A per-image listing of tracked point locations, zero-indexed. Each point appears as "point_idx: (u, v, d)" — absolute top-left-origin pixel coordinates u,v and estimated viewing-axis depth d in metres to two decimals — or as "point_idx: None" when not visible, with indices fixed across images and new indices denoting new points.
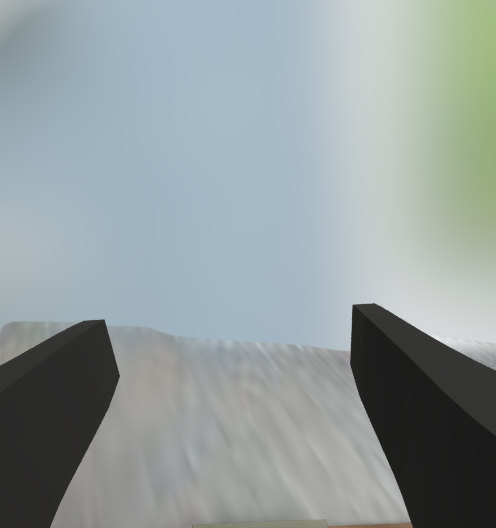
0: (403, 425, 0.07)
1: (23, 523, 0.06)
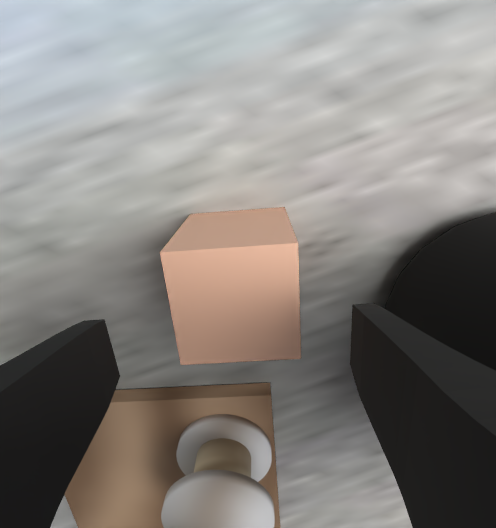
0: (403, 425, 0.07)
1: (24, 523, 0.06)
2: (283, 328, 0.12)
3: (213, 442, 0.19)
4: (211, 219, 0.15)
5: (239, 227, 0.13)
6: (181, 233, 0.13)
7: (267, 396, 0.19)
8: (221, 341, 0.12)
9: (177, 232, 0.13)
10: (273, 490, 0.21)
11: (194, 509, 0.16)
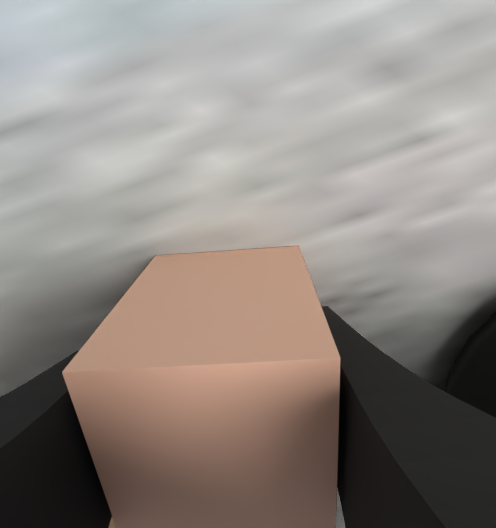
0: None
1: (89, 521, 0.06)
2: (305, 495, 0.06)
3: None
4: (183, 271, 0.09)
5: (226, 295, 0.08)
6: (125, 307, 0.07)
7: None
8: (192, 512, 0.07)
9: (119, 304, 0.08)
10: None
11: None
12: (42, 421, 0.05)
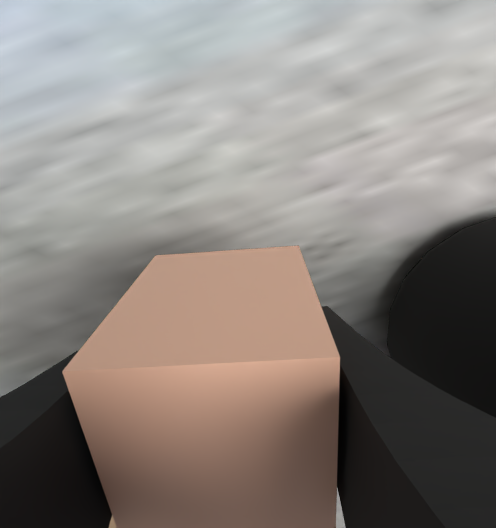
0: None
1: (89, 521, 0.06)
2: (305, 494, 0.06)
3: None
4: (183, 270, 0.09)
5: (226, 295, 0.08)
6: (125, 307, 0.07)
7: None
8: (192, 511, 0.07)
9: (119, 303, 0.08)
10: None
11: None
12: (42, 421, 0.05)
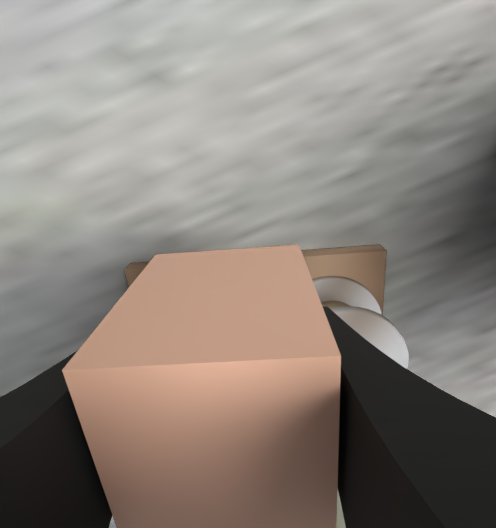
0: None
1: (89, 521, 0.06)
2: (305, 493, 0.06)
3: (323, 303, 0.18)
4: (184, 269, 0.09)
5: (226, 294, 0.08)
6: (125, 306, 0.07)
7: (383, 252, 0.18)
8: (192, 510, 0.07)
9: (119, 302, 0.08)
10: None
11: None
12: (42, 421, 0.05)
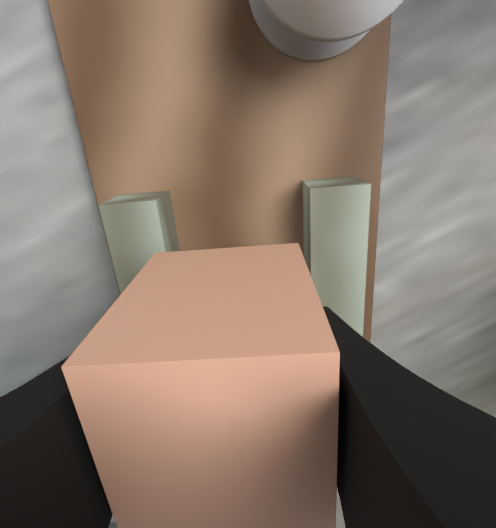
0: None
1: (89, 521, 0.06)
2: (304, 490, 0.06)
3: None
4: (183, 267, 0.09)
5: (226, 291, 0.08)
6: (124, 303, 0.07)
7: None
8: (191, 507, 0.07)
9: (119, 300, 0.08)
10: (380, 80, 0.15)
11: None
12: (42, 421, 0.05)
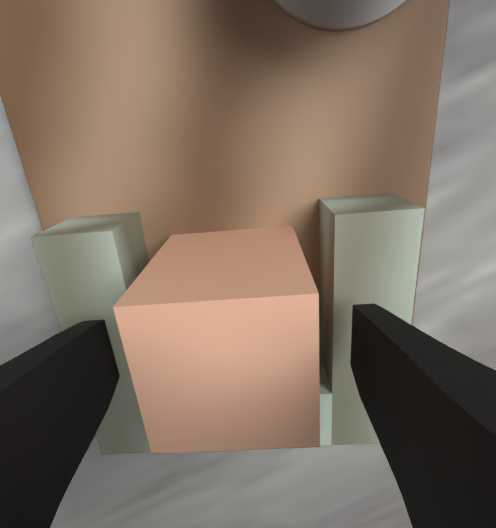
0: (403, 425, 0.07)
1: (24, 523, 0.06)
2: (295, 409, 0.08)
3: None
4: (196, 244, 0.11)
5: (233, 260, 0.09)
6: (152, 269, 0.09)
7: None
8: (207, 425, 0.09)
9: (147, 267, 0.10)
10: (434, 58, 0.10)
11: None
12: None
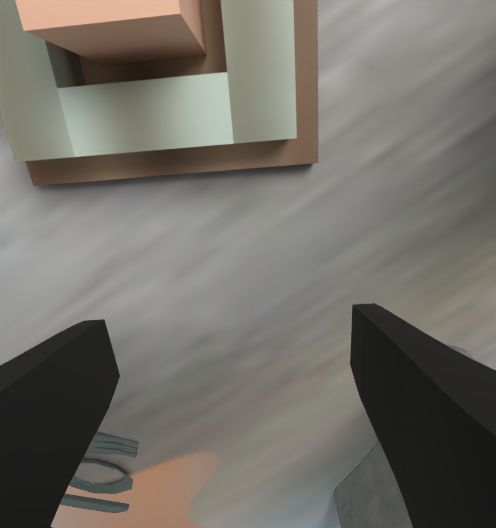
0: (403, 425, 0.07)
1: (23, 523, 0.06)
2: None
3: None
4: None
5: None
6: None
7: None
8: None
9: None
10: None
11: None
12: None
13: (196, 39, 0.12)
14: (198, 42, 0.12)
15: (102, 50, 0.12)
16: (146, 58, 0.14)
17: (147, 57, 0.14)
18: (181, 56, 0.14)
